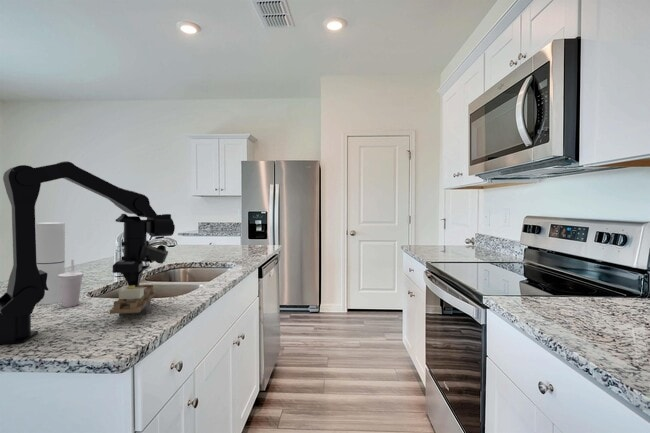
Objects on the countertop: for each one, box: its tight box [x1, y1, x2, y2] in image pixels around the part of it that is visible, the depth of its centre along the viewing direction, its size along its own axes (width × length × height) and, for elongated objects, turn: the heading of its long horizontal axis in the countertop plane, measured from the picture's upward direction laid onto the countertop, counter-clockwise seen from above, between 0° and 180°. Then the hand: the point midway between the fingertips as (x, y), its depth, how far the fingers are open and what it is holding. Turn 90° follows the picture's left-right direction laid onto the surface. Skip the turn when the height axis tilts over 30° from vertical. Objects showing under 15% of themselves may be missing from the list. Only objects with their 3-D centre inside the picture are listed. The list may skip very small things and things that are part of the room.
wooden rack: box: [109, 284, 157, 317], centre depth 100 cm, size 20×7×6 cm, turn 15°
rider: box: [118, 285, 145, 305], centre depth 96 cm, size 4×5×5 cm
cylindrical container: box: [35, 222, 66, 305], centre depth 110 cm, size 7×7×25 cm
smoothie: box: [58, 259, 84, 308], centre depth 106 cm, size 6×6×14 cm
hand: (134, 291), depth 99 cm, fingers closed
